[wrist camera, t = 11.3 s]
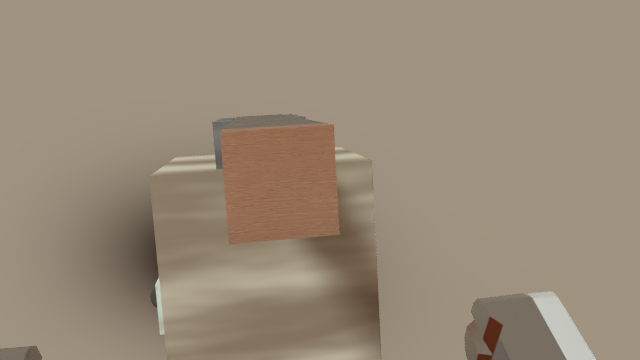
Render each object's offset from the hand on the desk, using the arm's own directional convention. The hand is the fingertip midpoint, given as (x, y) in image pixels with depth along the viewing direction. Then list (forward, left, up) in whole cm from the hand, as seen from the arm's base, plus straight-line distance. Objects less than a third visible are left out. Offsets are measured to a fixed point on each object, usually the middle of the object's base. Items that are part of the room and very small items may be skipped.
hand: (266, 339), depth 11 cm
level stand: (-10, -25, -25) cm, 36 cm away
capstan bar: (-5, -11, +1) cm, 12 cm away
